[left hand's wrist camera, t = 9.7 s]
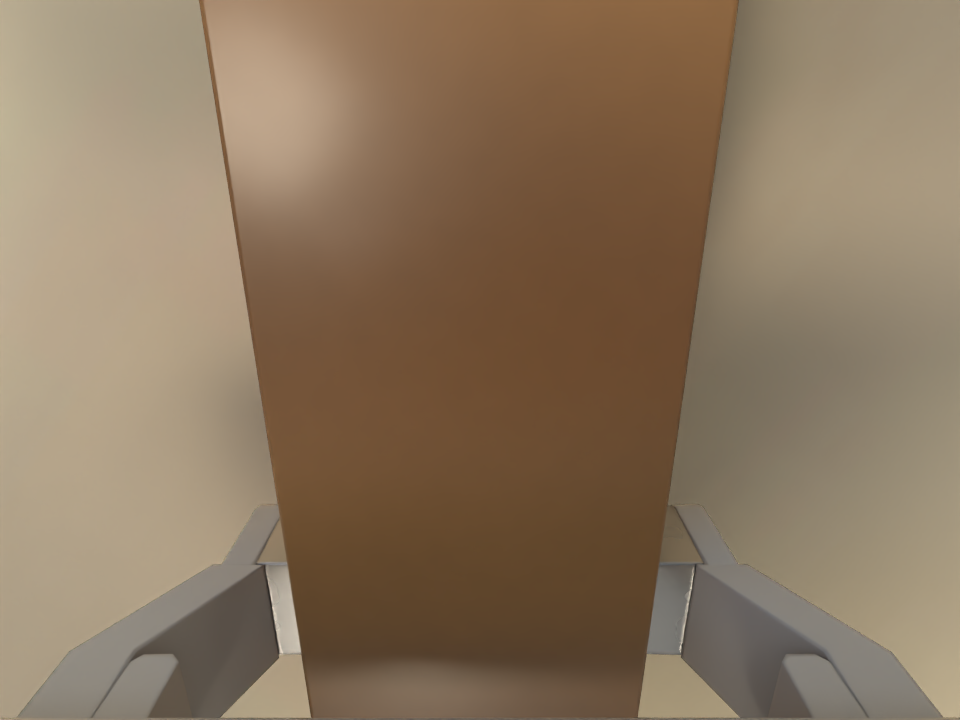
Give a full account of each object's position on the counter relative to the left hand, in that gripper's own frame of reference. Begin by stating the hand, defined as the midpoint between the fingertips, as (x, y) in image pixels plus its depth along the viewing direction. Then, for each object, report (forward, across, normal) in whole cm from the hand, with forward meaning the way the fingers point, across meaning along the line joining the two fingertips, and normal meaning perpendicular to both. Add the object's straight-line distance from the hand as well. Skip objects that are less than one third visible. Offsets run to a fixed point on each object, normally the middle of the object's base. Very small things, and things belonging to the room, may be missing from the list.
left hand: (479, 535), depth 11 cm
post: (+4, 0, -34) cm, 34 cm away
